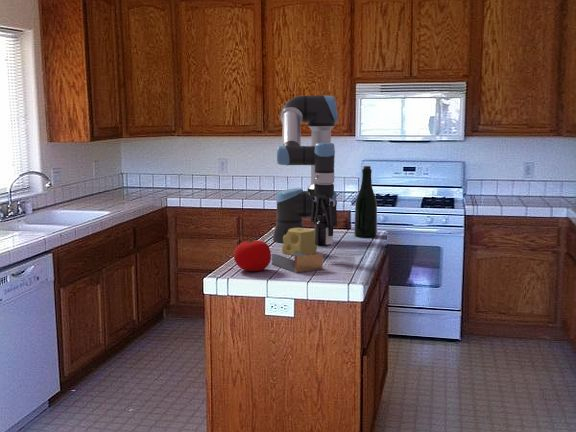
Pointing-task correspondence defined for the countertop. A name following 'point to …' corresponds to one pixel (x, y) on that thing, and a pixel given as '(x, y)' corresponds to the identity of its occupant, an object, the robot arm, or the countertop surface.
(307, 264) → the guide channel
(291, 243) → the cheese
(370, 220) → the dark green wine bottle
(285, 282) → the countertop surface
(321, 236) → the supplement bottle
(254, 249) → the tomato
